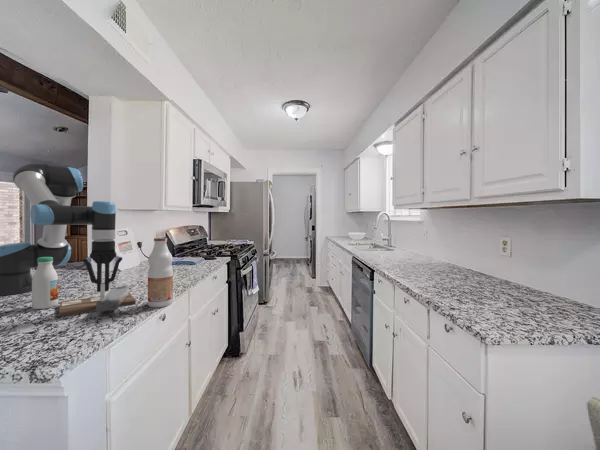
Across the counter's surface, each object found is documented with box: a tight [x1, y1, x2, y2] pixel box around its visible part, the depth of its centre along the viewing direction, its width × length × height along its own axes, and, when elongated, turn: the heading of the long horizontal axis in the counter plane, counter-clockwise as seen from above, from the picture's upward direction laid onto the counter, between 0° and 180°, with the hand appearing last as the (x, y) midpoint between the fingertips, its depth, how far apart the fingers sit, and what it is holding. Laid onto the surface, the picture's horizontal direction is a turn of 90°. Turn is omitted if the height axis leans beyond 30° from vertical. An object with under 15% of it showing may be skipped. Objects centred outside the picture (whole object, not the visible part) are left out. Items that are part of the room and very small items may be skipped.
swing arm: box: [96, 286, 130, 312], centre depth 110 cm, size 24×7×3 cm, turn 23°
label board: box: [58, 292, 137, 318], centre depth 112 cm, size 16×24×2 cm, turn 130°
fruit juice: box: [147, 237, 174, 309], centre depth 113 cm, size 9×9×28 cm
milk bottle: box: [31, 257, 59, 310], centre depth 108 cm, size 8×8×20 cm
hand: (102, 299), depth 107 cm, fingers closed
